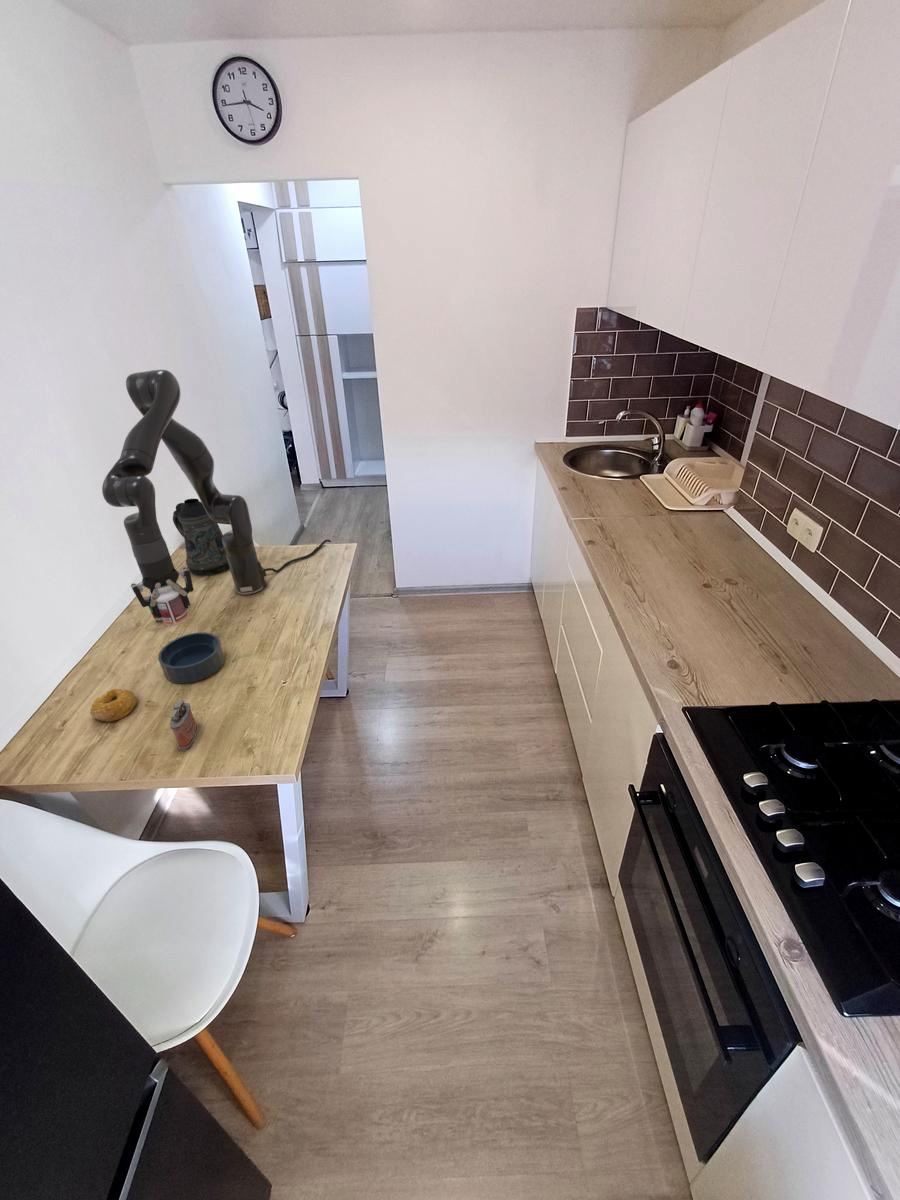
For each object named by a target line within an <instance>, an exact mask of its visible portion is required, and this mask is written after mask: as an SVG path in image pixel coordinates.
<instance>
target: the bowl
mask: <svg viewBox="0 0 900 1200" xmlns="http://www.w3.org/2000/svg"><path fill="white" fill-rule="evenodd" d="M157 660H158V663H159V665H160V668H161V670H162V672H163V675H164V677H165V679H166V680H168V681H169V682H172V683H176V684H191V683H194V682H199V681H201V680H204V679H207V678H209V677H210V676H212V675H213V674H215V673H216V672H218V671H219V670H220V669H221V668H222V667H223V664H225V661H226V654H225V651H224V648H223V644H222V641H221V640H220V638H219V636H217V635H215V634H214V633H211V632H206V631H205V632H204V631H203V632H193V633H188V634H184V635H180V636H179V637H177V638H175V639H173V640H171V641H169V642H168V643H167V644H165V645H164V646H163V647H162V648H161V650H160V651H159V653H158V656H157Z"/></svg>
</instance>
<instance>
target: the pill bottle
mask: <svg viewBox="0 0 900 1200" xmlns="http://www.w3.org/2000/svg"><path fill="white" fill-rule="evenodd" d="M158 592H159V594H158V598H157V599H156V605H157V607H158V610H159V613H160V615H161V618H162V621H163V622H162V623H163V625H165V626H168V627H175V626H178V625H181V624H183V623H184V622H186V621H187V619H188V617H189V614H188V611H187V609H186V608H185V606H184V603H183V600H182V598H181V595H180V593H179V592H177V591H176V590H175V589H173V588H172V587H171V585H165V586H162V587H160V589H158Z"/></svg>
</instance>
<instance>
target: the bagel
mask: <svg viewBox="0 0 900 1200" xmlns="http://www.w3.org/2000/svg"><path fill="white" fill-rule="evenodd" d="M137 702H138V700H137V698H136V696H135V693H134V692H133V691H132V690H129V689H121V688H113V689H110V690H108V691H106V693H104V694H101V696H100V697H97V698H96V699H94V700H93V702H92V704H91V706H90V716H91V717H92V718H93V719H96V720H98V721H102V722H107V723H109V722H115V721H117V720H120V719H123V718H124V717H126V716H127V715H128V714H130V713H131V712H132V711H133V710H134V708H135V706H136V704H137Z"/></svg>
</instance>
